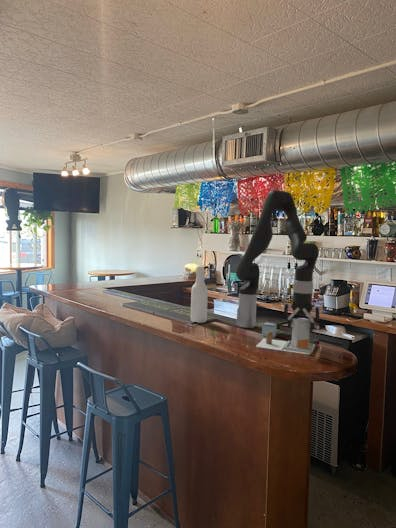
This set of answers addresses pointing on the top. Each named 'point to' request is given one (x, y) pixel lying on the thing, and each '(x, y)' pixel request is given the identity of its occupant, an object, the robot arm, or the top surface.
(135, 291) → the top surface
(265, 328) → the blue-grey block
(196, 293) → the alcohol
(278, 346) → the board
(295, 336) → the skincare box
